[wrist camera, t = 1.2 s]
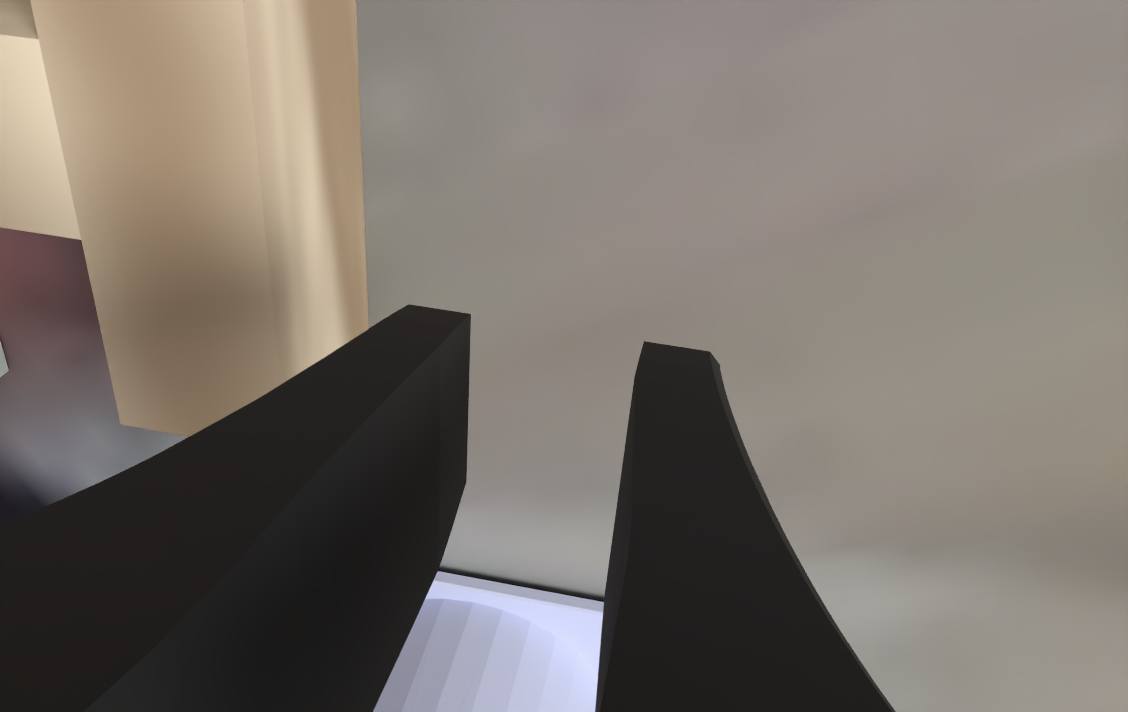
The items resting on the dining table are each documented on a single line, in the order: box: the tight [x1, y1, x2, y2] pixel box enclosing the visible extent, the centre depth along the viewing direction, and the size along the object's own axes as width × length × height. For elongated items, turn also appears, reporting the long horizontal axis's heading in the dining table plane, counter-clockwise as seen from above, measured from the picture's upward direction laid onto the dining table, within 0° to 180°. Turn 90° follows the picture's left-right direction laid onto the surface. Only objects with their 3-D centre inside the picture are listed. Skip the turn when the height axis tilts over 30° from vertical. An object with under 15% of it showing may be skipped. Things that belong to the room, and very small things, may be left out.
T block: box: [0, 0, 369, 437], centre depth 16 cm, size 9×10×4 cm
